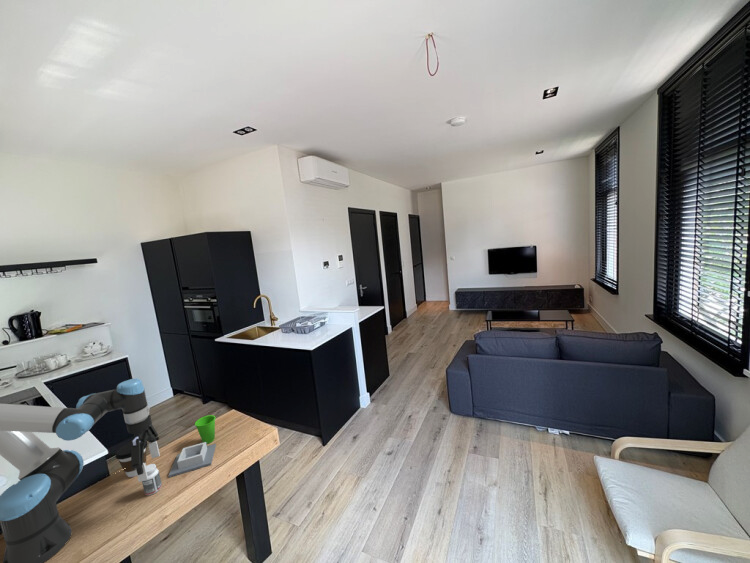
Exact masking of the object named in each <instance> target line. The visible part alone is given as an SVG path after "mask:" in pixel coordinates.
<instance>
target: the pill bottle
mask: <svg viewBox="0 0 750 563" xmlns="http://www.w3.org/2000/svg"><path fill="white" fill-rule="evenodd" d="M146 471H147V475H148V479H147V480H144V481H141V484H142V487H143V488H142V489H143V493H144V495H146V496H152V495H154V494H157V492H159V491H160V490H161V489H162V486H163V483H162V480H161V474H160V470H159V468H157V466H156V464H155V463H150V464H146Z"/></svg>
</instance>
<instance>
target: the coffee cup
mask: <svg viewBox="0 0 750 563" xmlns="http://www.w3.org/2000/svg"><path fill="white" fill-rule="evenodd" d="M140 444H141V443H140ZM147 446H148V441H146V445H145V446H144V456H143V463H145V467H146V466H147ZM114 457H115V459H116V460H118V462H119V464H120V466H121V469H122V470H123V469H124V468H126V469H124V470H123V472H125V475H126V477H128V478H135V477H137V473H136V469H131V444H130V442H128V443H126V444H124V445H122V446H121V447H119V449H118V450H117V451H116V453H115V456H114Z"/></svg>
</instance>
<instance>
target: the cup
mask: <svg viewBox="0 0 750 563" xmlns="http://www.w3.org/2000/svg"><path fill="white" fill-rule="evenodd" d="M216 418H217V417H216V416H215V415H213V414H208V415H204V416H202V417H200V418H198V419H197V420H196V421H195V423H194V426H195V427H196V429H197V432H198V433H199V436H200V440H201V441H202V442H201V443H204V442H206V444H211V443H213V442H214V441H215V439H216V438H215V437H216V435H215V434H216V428H215V427H216Z"/></svg>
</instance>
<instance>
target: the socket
mask: <svg viewBox="0 0 750 563" xmlns="http://www.w3.org/2000/svg"><path fill="white" fill-rule="evenodd" d="M216 447H217V443H213V444H210V445H207V444H206V442H204V443H203V442H200V443H197V444H193V445H189V446H185V447H183V448H182V450H181V452H180V453H178V454H176V457H175V459H174V462H173V463H172V466H171V469H170V471H169V474H168V478H172V477H176V476H179V475H183V474H185V473H189V472H192V471H196V470H200V469H202V468H206V467H209V466H212V463H213V458H214V454H215V451H216Z"/></svg>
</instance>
